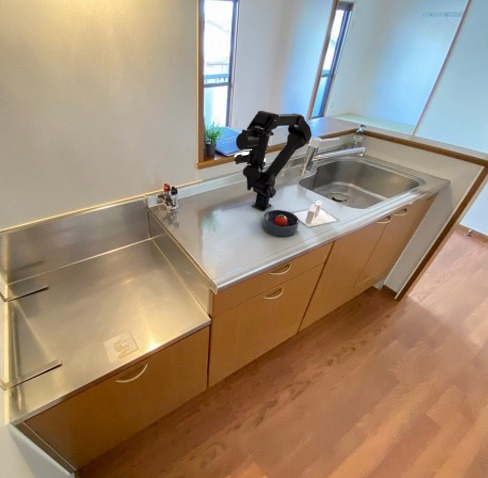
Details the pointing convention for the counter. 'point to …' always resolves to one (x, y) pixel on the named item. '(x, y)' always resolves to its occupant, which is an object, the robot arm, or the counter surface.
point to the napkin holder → (314, 215)
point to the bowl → (279, 230)
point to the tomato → (280, 220)
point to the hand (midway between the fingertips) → (250, 186)
